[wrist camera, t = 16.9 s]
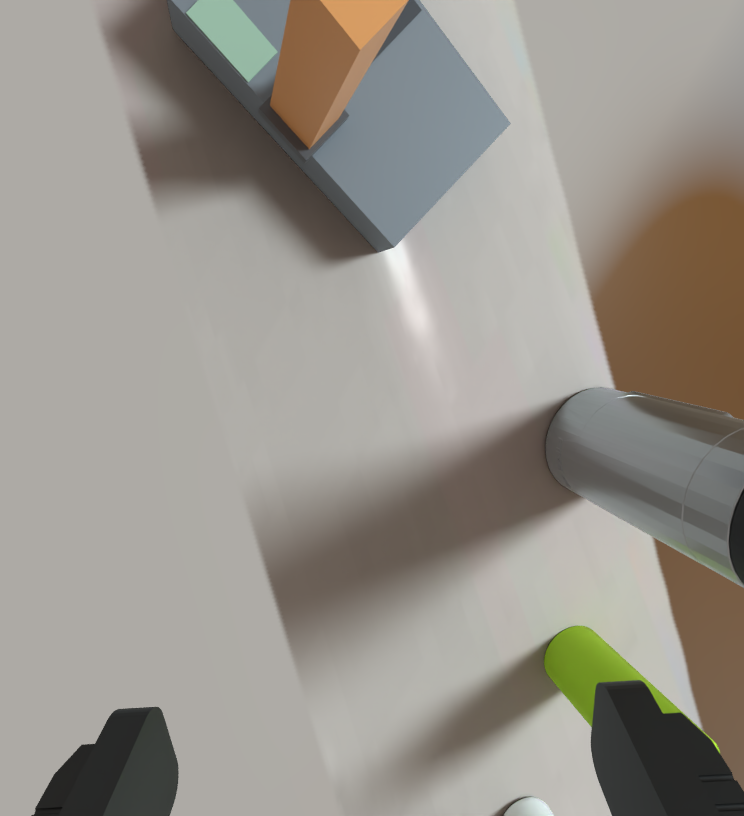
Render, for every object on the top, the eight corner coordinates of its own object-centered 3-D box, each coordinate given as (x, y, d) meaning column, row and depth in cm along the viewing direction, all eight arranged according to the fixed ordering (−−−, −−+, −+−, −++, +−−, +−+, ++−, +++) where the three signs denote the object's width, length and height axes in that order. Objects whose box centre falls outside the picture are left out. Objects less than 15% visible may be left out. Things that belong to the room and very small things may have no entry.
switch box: (378, 252, 38) (394, 247, 34) (173, 29, 32) (164, -8, 28) (482, 141, 38) (511, 123, 34) (298, -99, 32) (307, -154, 29)
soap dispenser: (526, 680, 49) (715, 924, 30) (566, 616, 48) (782, 821, 29) (571, 700, 50) (776, 941, 31) (610, 638, 50) (841, 844, 31)
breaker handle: (304, 163, 31) (355, 68, 18) (258, 112, 30) (277, -27, 17) (346, 120, 31) (426, -5, 18) (301, 67, 30) (353, -105, 17)
